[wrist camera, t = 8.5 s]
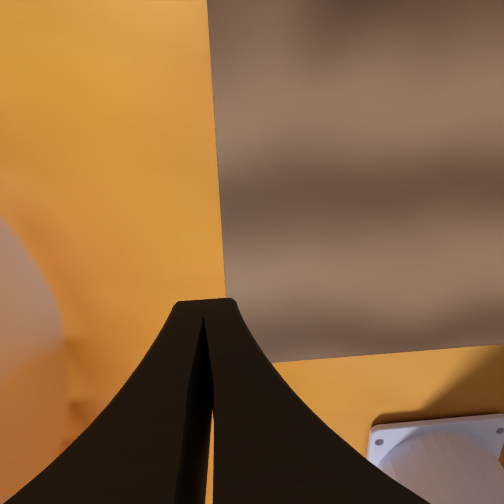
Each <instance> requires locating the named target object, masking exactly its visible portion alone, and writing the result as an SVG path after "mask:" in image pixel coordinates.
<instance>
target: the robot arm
mask: <svg viewBox="0 0 504 504" xmlns="http://www.w3.org/2000/svg"><path fill="white" fill-rule="evenodd" d="M212 410H213V418H214V470H213V504H504V468H503V467H502V465H501V464H500V462H499V457H500V454H501V450H502V447H503V444H504V414H489V415H478V416H467V417H456V418H445V419H434V420H423V421H412V422H401V423H390V424H379V425H375V426H373V427H372V428H371V429H370V432H369V440H368V449H367V457H366V458H364V457H363V456H362V455H361V454H360V453H358V452H357V451H356V450H355V449H354V448H353V447H351V446H350V445H349V444H348V443H347V442H346V441H344V440H343V439H342V438H341V437H340V436H339V435H337V434H336V433H335V432H334V431H333V430H332V429H330V428H329V427H328V426H327V425H326V424H325V423H324V422H323V421H322V420H321V419H320V418H319V417H318V416H317V415H316V414H315V413H314V412H313V411H312V410H311V409H310V408H309V407H308V406H307V405H306V404H305V403H304V402H303V401H302V400H301V399H300V398H299V397H298V396H297V395H296V393H295V392H294V391H293V390H292V389H291V388H290V387H289V385H288V384H287V383H286V382H285V381H284V379H283V378H282V377H281V376H280V374H279V373H278V372H277V370H276V369H275V368H274V367H273V365H272V364H271V363H270V361H269V360H268V358H267V357H266V356H265V354H264V353H263V351H262V350H261V348H260V347H259V345H258V344H257V342H256V340H255V339H254V337H253V336H252V334H251V332H250V331H249V329H248V327H247V325H246V323H245V322H244V320H243V317H242V315H241V313H240V311H239V308H238V306H237V302H236V301H235V300H234V299H233V298H219V299H205V300H191V301H178V302H177V303H176V304H175V305H174V306H173V308H172V311H171V313H170V315H169V317H168V318H167V320H166V322H165V324H164V326H163V328H162V329H161V331H160V333H159V334H158V336H157V338H156V339H155V341H154V343H153V344H152V346H151V347H150V349H149V350H148V352H147V353H146V355H145V357H144V358H143V360H142V361H141V362H140V364H139V365H138V367H137V368H136V369H135V371H134V372H133V373H132V375H131V376H130V377H129V379H128V380H127V381H126V383H125V384H124V386H123V387H122V388H121V389H120V391H119V392H118V393H117V394H116V396H115V397H114V398H113V399H112V401H111V402H110V403H109V404H108V405H107V406H106V408H105V409H104V410H103V411H102V412H101V413H100V414H99V416H98V417H97V418H96V419H95V420H94V421H93V422H92V423H91V424H90V425H89V427H88V428H87V429H86V430H85V431H84V432H83V433H82V434H81V435H80V436H79V437H78V438H77V439H76V440H75V441H74V442H73V443H72V444H71V445H70V446H69V447H68V448H67V449H66V450H65V451H64V452H63V453H62V454H61V455H59V456H58V457H57V458H56V459H55V460H54V461H53V462H52V463H51V464H50V465H49V466H48V467H47V468H45V469H44V470H43V471H42V472H41V473H40V474H39V475H37V476H36V477H35V478H34V479H33V480H31V481H30V482H29V483H28V484H27V485H26V486H24V487H23V488H22V489H21V490H20V491H18V492H17V493H16V494H15V495H14V496H12V497H11V498H10V499H9V500H7V501H6V502H5V503H4V504H205V496H206V484H207V471H208V458H209V445H210V432H211V419H212Z"/></svg>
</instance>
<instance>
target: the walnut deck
mask: <svg viewBox="0 0 504 504" xmlns="http://www.w3.org/2000/svg"><path fill="white" fill-rule="evenodd" d="M207 8H208V23H209V39H210V54H211V69H212V85H213V100H214V116H215V131H216V146H217V162H218V177H219V193H220V208H221V224H222V239H223V254H224V270H225V285H226V298H233V299H234V300H235V301H236V302H237V306H238V308H239V311H240V313H241V315H242V317H243V320H244V322H245V323H246V325H247V327H248V329H249V331H250V332H251V334H252V336H253V337H254V339H255V340H256V342H257V344H258V345H259V347H260V348H261V350H262V351H263V353H264V354H265V356H266V357H267V358H268V360H269V361H270V363H275V362H287V361H300V360H312V359H325V358H337V357H349V356H362V355H374V354H386V353H399V352H411V351H423V350H436V349H448V348H460V347H473V346H485V345H497V344H504V0H207Z"/></svg>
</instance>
